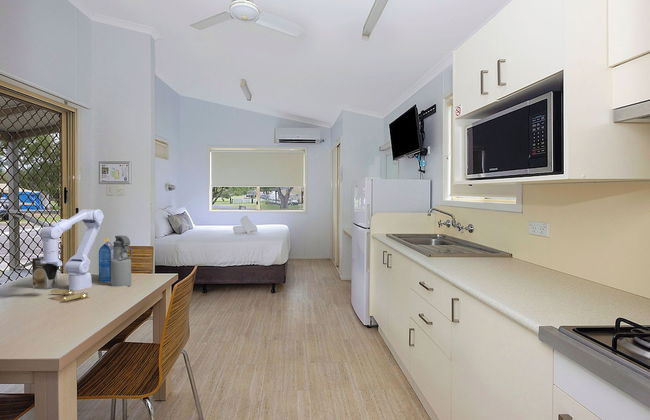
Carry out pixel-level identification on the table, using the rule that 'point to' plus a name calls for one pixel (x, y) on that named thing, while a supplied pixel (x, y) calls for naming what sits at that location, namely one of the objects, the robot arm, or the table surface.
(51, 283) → the coffee box
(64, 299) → the lever
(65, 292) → the lever
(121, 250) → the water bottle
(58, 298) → the base
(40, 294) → the table surface
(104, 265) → the blue plastic bottle
